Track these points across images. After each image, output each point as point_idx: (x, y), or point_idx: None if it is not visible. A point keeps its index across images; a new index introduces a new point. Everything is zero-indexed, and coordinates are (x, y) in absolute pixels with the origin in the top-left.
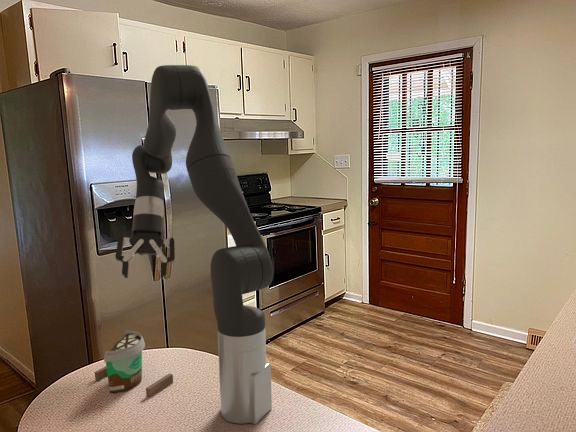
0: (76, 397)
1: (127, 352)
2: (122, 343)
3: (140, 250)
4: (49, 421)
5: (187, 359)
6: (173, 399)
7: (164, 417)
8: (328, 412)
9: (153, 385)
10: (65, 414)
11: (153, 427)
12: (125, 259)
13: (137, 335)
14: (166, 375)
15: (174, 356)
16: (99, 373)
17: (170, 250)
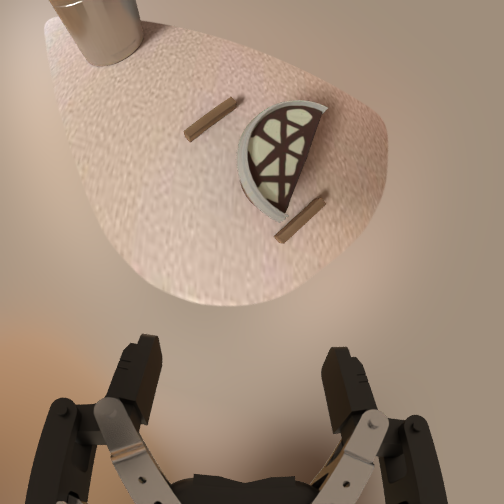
0: (341, 158)
1: (279, 103)
2: (292, 150)
3: (289, 494)
4: (361, 113)
5: (144, 225)
6: (193, 87)
7: (214, 53)
8: (46, 35)
9: (223, 104)
10: (346, 118)
11: (231, 41)
12: (375, 418)
13: (256, 184)
14: (195, 131)
15: (168, 251)
16: (317, 199)
17: (58, 460)
